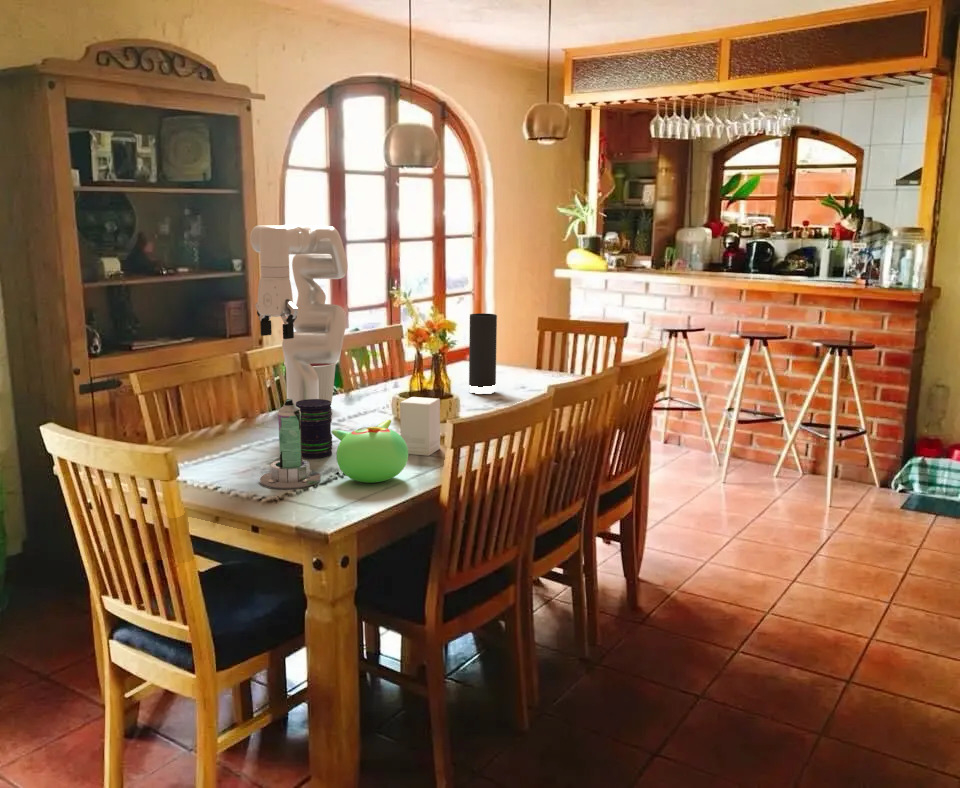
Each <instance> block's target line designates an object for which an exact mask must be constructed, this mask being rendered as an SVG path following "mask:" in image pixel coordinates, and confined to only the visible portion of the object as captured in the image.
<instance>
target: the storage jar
mask: <svg viewBox="0 0 960 788" xmlns="http://www.w3.org/2000/svg"><path fill="white" fill-rule="evenodd" d="M296 407H298V408H300V411H301V439H302V460H305V459H306V460H321V459H326V458H329V457H331V456H332V455H333V451H332V449H333V434H332V426H331V425H332V423H331V421H332V413H333V412H332V403H331V401H329V400H323V399H307V400H301V401H298V402H296Z"/></svg>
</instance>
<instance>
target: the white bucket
mask: <svg viewBox="0 0 960 788" xmlns="http://www.w3.org/2000/svg"><path fill="white" fill-rule="evenodd" d="M337 364H338V361H337V362H335V363H332V364H321V363H313V364H310V365H311V366H312V367H313V369H314V370H315V371H316V373H317V376H318V382H319V399H323V400H329V401H331V404H332V402H333V394H334V388H335V387H334V386H335V374H336V365H337ZM283 365H284V366H285V361H284V362H283Z"/></svg>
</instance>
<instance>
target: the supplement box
mask: <svg viewBox="0 0 960 788" xmlns="http://www.w3.org/2000/svg"><path fill="white" fill-rule="evenodd" d="M399 407H400V408H399V409H400V410H399V411H400V413H399V417H400V418H399V421H400V436H401V437H402V438H403V439H404V441H405V442H406V445H407V448H408V455H418V456H427V457H429V456H430V455H432V454H434V453H435V452H437V451H438V450H440V449H441V414H440V413H441V399H440V398H435V397H434V398H433V397H419V396H418V397H417V396H411V397H408V398H406V399H404V400H402V401H400V402H399Z"/></svg>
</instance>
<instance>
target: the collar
mask: <svg viewBox="0 0 960 788" xmlns="http://www.w3.org/2000/svg"><path fill="white" fill-rule="evenodd" d="M310 465H311V464H310V461H308V460H307V459H306V460H305V459H302V466H299V467H294V468H281V467H280V459H279V460H275V461H273V462H271V463H270V472H268V473H267V472H266V473H265V474H263V475H261V476H260V478H259V483H260V485H261V486H262V487H265V488H268V489H274V490H295V489H294V488H299V489H303V487H305V488H308V487H313V486H314V485H317V484H318V483H320V482H321V479H322V476H321V474H320V473H319V472H317V471H314V470H312V469H311V468H310V467H311V466H310Z"/></svg>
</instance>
